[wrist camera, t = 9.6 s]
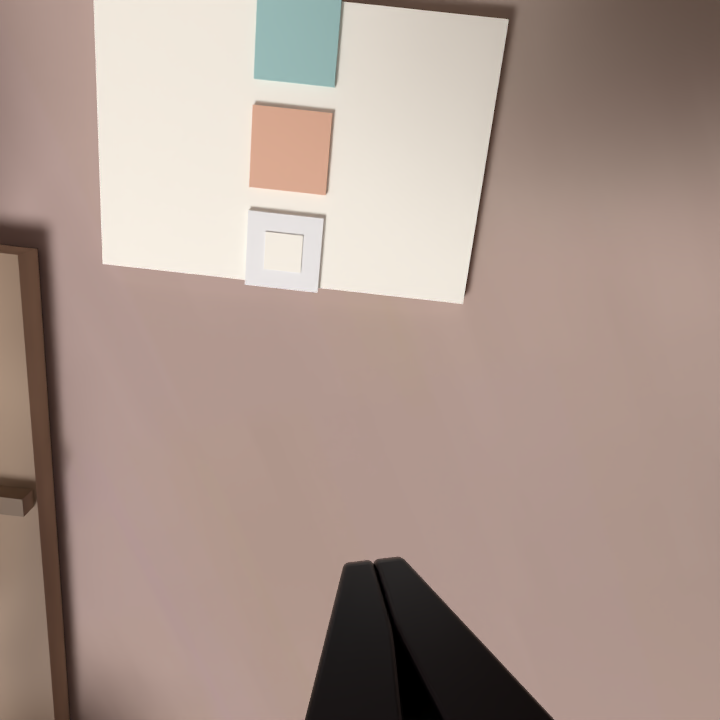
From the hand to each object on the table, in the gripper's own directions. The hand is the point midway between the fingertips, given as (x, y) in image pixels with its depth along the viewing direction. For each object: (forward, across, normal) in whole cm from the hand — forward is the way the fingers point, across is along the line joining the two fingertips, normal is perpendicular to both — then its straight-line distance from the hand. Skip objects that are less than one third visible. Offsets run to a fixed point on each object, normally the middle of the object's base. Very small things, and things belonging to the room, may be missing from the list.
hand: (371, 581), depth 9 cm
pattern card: (+11, 0, -4) cm, 12 cm away
